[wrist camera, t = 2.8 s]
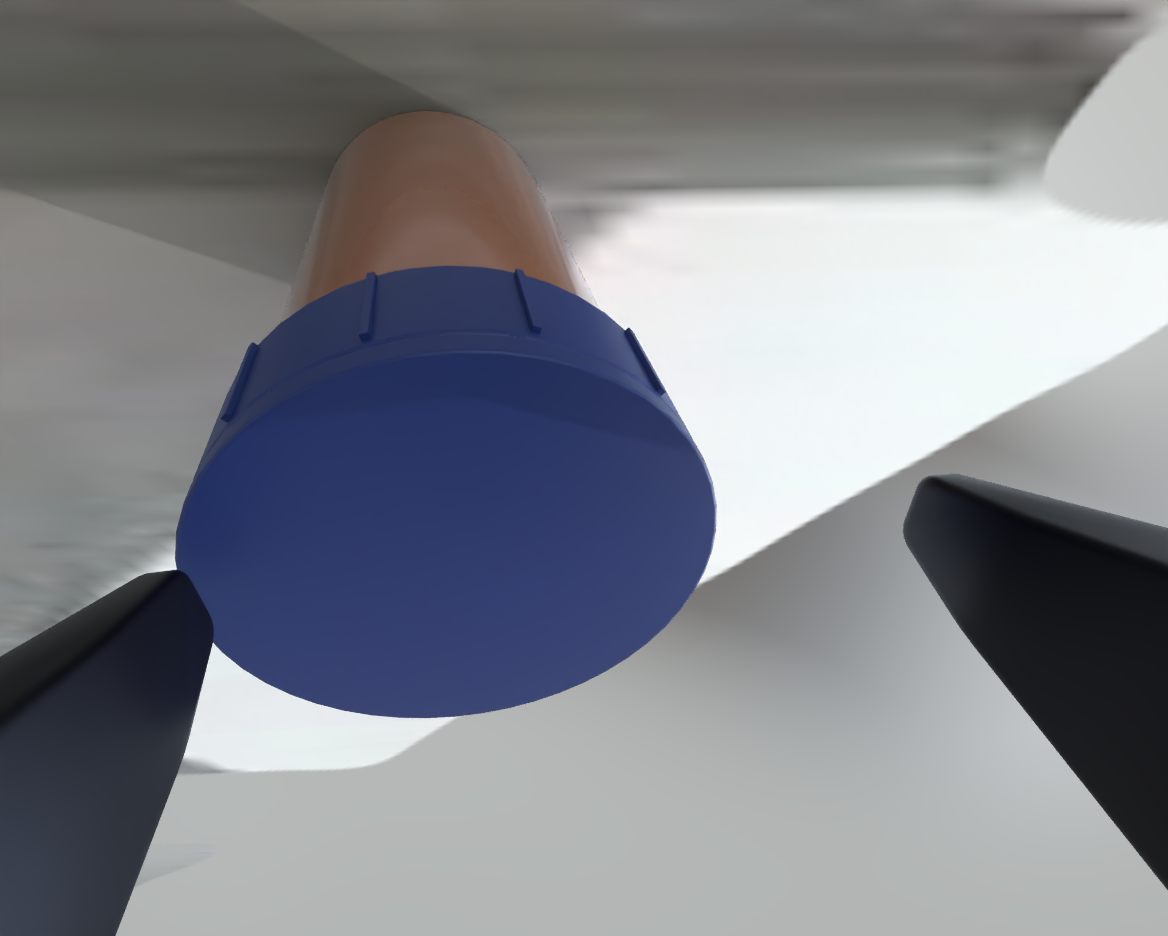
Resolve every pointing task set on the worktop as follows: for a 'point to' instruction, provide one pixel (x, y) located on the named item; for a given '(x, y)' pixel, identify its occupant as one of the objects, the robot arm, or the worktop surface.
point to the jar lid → (444, 498)
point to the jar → (431, 209)
